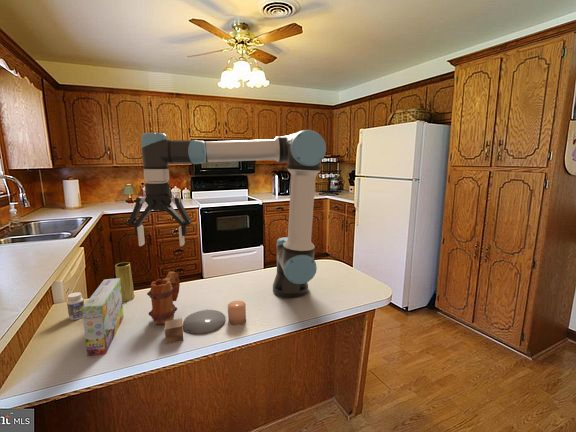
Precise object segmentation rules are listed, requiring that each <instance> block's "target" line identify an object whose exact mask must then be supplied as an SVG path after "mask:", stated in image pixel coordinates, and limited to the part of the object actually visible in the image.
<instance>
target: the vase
mask: <svg viewBox="0 0 576 432" xmlns="http://www.w3.org/2000/svg"><path fill="white" fill-rule="evenodd" d="M131 267H132V266H131V262H127V261H124V262H123V261H122V262H119V263H116V264H115V265H114V269H115V279H116V278H120V282H121V294H122V303H123V302H129V301H131V300H133V299H134V298H135V292H134V283H133V276H132V268H131Z"/></svg>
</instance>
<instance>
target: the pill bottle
mask: <svg viewBox="0 0 576 432" xmlns="http://www.w3.org/2000/svg"><path fill="white" fill-rule="evenodd" d="M66 305H67V313H68V318H69V320H71V321H75V320H80V319H83V313H82V307H83V306H84V305H85V303H84V297H83V296H82V293H81V292H79V291H78V292H72V293H69V294H68V295H67V302H66Z"/></svg>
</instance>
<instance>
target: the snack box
mask: <svg viewBox="0 0 576 432" xmlns="http://www.w3.org/2000/svg"><path fill="white" fill-rule="evenodd" d="M82 313H83V317H82V319H83V320H82V322H83V329H84V337H85V347H86V348H85V349H86V356H87V357H88V356H93V355H103V354H106V353H108V350H109V348H110V347H111V344H112V341H113V340H114V338H115V335H116V333H117V332H118V330H119V329H120V326H121V324H122V322H123V320H124V318H123V317H125V316H124V307H123V302H122V294H121V282H120V278H116V277H115V278H108V279H103V281H101V283H100V285H98V287H97V288H96V290H95V291H94V292H93V293H92V294H91V296H90V297H89V298H88V300H87V301H86V302H85V303H84V306H83V307H82Z"/></svg>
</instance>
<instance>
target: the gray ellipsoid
mask: <svg viewBox="0 0 576 432" xmlns="http://www.w3.org/2000/svg"><path fill="white" fill-rule="evenodd" d="M225 323H226V315H225V314H224V313H223V312H222V311H219V310H214V309H202V310H199V311H195V312H192V313H191V314H189V315H187V316H186V317H185V318H184V320H182V324H183V330H184V331H186V332H187V333H190V334H193V335H194V334H195V335H203V334H204V335H205V334H209V333H212V332H216V331H217V330H219V329H220V328H222V327H224V325H225Z"/></svg>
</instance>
